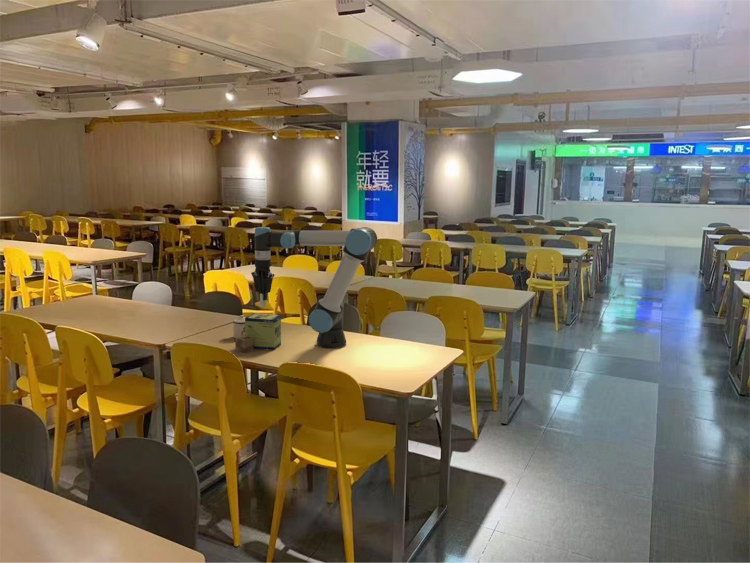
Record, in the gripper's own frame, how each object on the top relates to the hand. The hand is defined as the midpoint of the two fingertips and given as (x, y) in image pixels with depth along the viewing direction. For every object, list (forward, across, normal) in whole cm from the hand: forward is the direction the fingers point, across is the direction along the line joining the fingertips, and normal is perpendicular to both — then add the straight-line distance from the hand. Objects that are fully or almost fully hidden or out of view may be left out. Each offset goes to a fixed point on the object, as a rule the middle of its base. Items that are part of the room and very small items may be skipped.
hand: (262, 306), depth 281 cm
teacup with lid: (+21, -21, +9) cm, 31 cm away
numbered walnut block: (+21, -3, -10) cm, 23 cm away
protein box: (+21, 0, 0) cm, 21 cm away
